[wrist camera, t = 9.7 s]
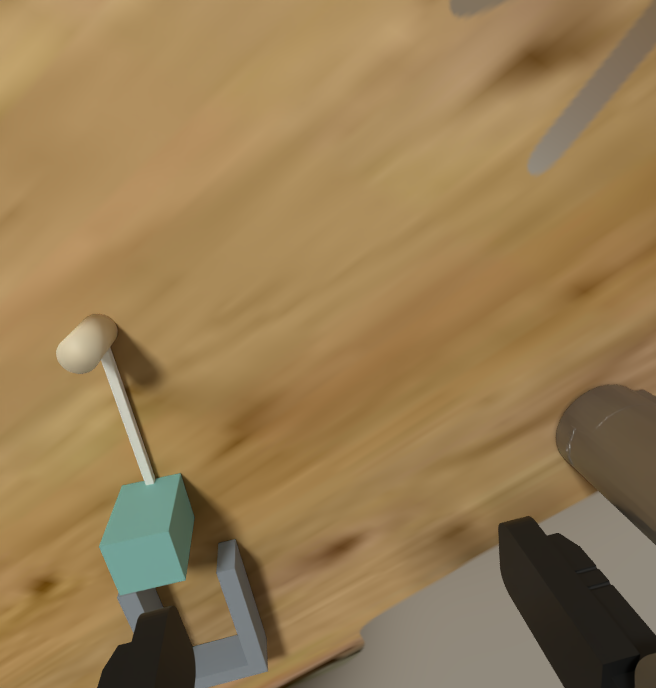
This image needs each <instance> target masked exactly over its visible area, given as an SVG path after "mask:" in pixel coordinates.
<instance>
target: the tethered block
mask: <svg viewBox="0 0 656 688" xmlns="http://www.w3.org/2000/svg"><path fill="white" fill-rule="evenodd" d="M117 334H118V329H117V326H116V324H115V322H114V321H113V320H112V319H111V318H109V317H108V316H105V315H102V314H93V315H90V316H88V317H86V318H85V319H84V320H83V321H82V322H81V323H80V324H79V325H78V326H77V327H76V328H75V329H74V330H73V331H72V332H71V333H70V334H69V335H68V336H67V337H66V338H65V339H64V340H63V341H62V342H61V343H60V344H59V346H58V348H57V351H56V355H57V359H58V362H59V363H60V365H61V366H62V367H63V368H65V369H66V370H68V371H70V372H73V373H77V374H83V373H87V372H90V371H92V370H93V369H94V368H95V367H96V366H97V364H98V363H99V362H100V360H101V361H102V364H103V367H104V370H105V372H106V375H107V378H108V381H109V384H110V386H111V389H112V392H113V395H114V398H115V400H116V403H117V406H118V409H119V412H120V414H121V417H122V420H123V423H124V426H125V428H126V431H127V434H128V437H129V440H130V442H131V445H132V448H133V451H134V454H135V456H136V459H137V462H138V465H139V468H140V470H141V473H142V476H143V479H144V481H142V482H137V483H132V484H128V485H123V486H122V487H121V490H120V493H119V495H118V498H117V501H116V503H115V506H114V509H113V511H112V514H111V516H110V519H109V522H108V524H107V527H106V530H105V532H104V535H103V538H102V540H101V543H100V545H99V548H100V550H101V552H102V555H103V557H104V559H105V562H106V564H107V566H108V569H109V571H110V573H111V576H112V578H113V580H114V583H115V585H116V587H117V590H118V592H119V594H120V595H124V594H129V593H133V592H137V591H142V590H146V589H150V588H155V587H159V586H163V585H167V584H172V583H176V582H180V581H185V580H186V574H187V567H188V560H189V553H190V546H191V539H192V532H193V525H194V518H195V517H194V514H193V511H192V508H191V505H190V502H189V498H188V495H187V492H186V489H185V486H184V483H183V480H182V476H181V473H179V474H175V475H170V476H165V477H161V478H155V475H154V473H153V470H152V467H151V464H150V461H149V458H148V455H147V452H146V449H145V446H144V444H143V441H142V438H141V435H140V432H139V429H138V426H137V423H136V420H135V417H134V415H133V412H132V409H131V406H130V403H129V400H128V397H127V394H126V391H125V388H124V386H123V383H122V380H121V377H120V374H119V371H118V368H117V365H116V362H115V359H114V357H113V354H112V351H111V348H110V346H111V345H112V344H113V342H114V341H115V339H116V338H117Z"/></svg>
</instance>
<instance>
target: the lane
mask: <svg viewBox="0 0 656 688" xmlns="http://www.w3.org/2000/svg"><path fill="white" fill-rule="evenodd" d="M216 573H217V576H218V579H219V582H220V585H221V588H222V590H223V593H224V596H225V599H226V602H227V605H228V608H229V611H230V614H231V616H232V619H233V622H234V625H235V628H236V631H237V634H238V635H235V636H232V637H228V638H224V639H220V640H216V641H212V642H209V643H205V644H201V645H197V646H193V651H194V655H195V663H196V678H195V688H208V687H211V686H215V685H219V684H222V683H226V682H230V681H234V680H237V679H241V678H245V677H248V676H252V675H256V674H259V673H263V672H267V671H268V662H267V638H266V635H265V632H264V629H263V626H262V622H261V619H260V616H259V613H258V610H257V606H256V603H255V600H254V597H253V594H252V590H251V587H250V584H249V581H248V578H247V574H246V571H245V568H244V565H243V562H242V558H241V555H240V552H239V549H238V546H237V543H236V539H234V540H230V541H225V542H221V543H219V545H218V559H217V572H216ZM117 599H118V601H119V603H120V605H121V607H122V609H123V611H124V614H125V616H126V618H127V620H128V622H129V624H130V626H131V628H132V631H133V633H134V630H135V626H136V623H137V619H138V617H139V615H140V614H142V613H145V612H149V611H153V610H157V609H161V608H163V606H162V603H161V601H160V598H159V596H158V594H157V591H156V589H155V588H150V589H146V590H142V591H137V592H133V593H129V594H124V595H120V594H119V593H118V597H117Z"/></svg>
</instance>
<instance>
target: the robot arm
mask: <svg viewBox="0 0 656 688" xmlns="http://www.w3.org/2000/svg"><path fill="white" fill-rule="evenodd" d="M556 443H557V447H558V450H559V452H560V454H561V455H562V456H563V458H564V459H565V460H567V461H568V462H569V463H570V464H571V465H572V466H573V467H574V468H575V469H576V470H577V471H578V472H579V473H580V474H581V475H582V476H583V477H584V478H586V479H587V480H588V481H589V482H590V483H591V484H592V485H593V486H594V487H595V488H596V489H597V490H598V491H599V492H600V493H601V494H602V495H603V496H604V497H605V498H606V499H608V500H609V501H610V502H611V503H612V504H613V505H614V506H615V507H616V508H617V509H618V510H619V511H620V512H621V513H622V514H623V515H625V516H626V517H627V518H628V519H629V520H630V521H631V522H632V523H633V524H634V525H635V526H636V527H637V528H638V529H639V530H641V532H642V533H644V534H645V535H646V536H647V537H648V538H649V539H650V540H651V541H652V542H653V543H654V544H655V545H656V396H654V395H652V394H651V393H649V392H647V391H645V390H639V391H633V390H631V389H629V388H627V387H625V386H621V385H604V386H600V387H597V388H594V389H592V390H589V391H588V392H586V393H584V394H583V395H581V396H580V397H579V398H577V399H576V400H575V401H574V402H573V403H572V404H571V405H570V406H569V407H568V409H567V410H566V411H565V413H564V414H563V416H562V418H561V420H560V422H559V425H558V428H557V433H556ZM498 533H499V555H500V570H501V575H502V578H503V581H504V584H505V587H506V589H507V591H508V593H509V595H510V597H511V598H512V600H513V602H514V603H515V605H516V607H517V609H518V610H519V612H520V614H521V615H522V617H523V619H524V620H525V622H526V624H527V625H528V627H529V629H530V630H531V632H532V634H533V635H534V637H535V639H536V641H537V642H538V644H539V646H540V647H541V649H542V650H543V652H544V654H545V656H546V657H547V659H548V661H549V662H550V664H551V666H552V667H553V669H554V671H555V672H556V674H557V676H558V677H559V679H560V681H561V683H562V684H563V686H564V687H565V688H656V635H655V634H654V633H653V632H652V630H650V628H649V627H648V626H647V625H646V623H645V622H644V621H643V620H642V619H641V618H640V616H639V615H638V614H637V613H636V612H635V610H634V609H633V608H632V607H631V606H630V605H629V604H628V602H627V601H626V600H625V599H624V598H623V597H622V595H621V594H620V593H619V592H618V591H617V589H616V588H615V587H614V586H613V585H611V584H610V582H609V580H608V579H607V578H606V577H605V575H604V574H603V573H602V572H601V571H600V570H599V569H597V568H596V565H595V564H594V562H593V561H592V560H591V559H590V558H589V557H588V555H587V554H586V553H585V552H584V551H583V550H582V548H581V547H580V546H578V545H577V544H575V543H573V542H572V541H570V540H569V539H567V538H565V537H564V536H563V535H561V534H559V533H556V534H552V535H548V536H547V535H546V534H545V533H544V532H543V530H542V529H541V528H540V527H539V525H538V524H537V523H536V521H535V520H534V519H533V518H531V517H530V516H526V517H523V518H519V519H515V520H511V521H507V522H503V523H500V524H499V527H498ZM195 678H196V663H195V655H194V651H193V647H192V645H191V642H190V640H189V637H188V635H187V632H186V630H185V628H184V625H183V623H182V620H181V618H180V616H179V613H178V611H177V609H176V607H175V606H169V607H165V608H161V609H157V610H153V611H149V612H145V613H142V614H140V615H139V617H138V619H137V623H136V626H135V630H134V634H133V638H132V642H130V643H126V644H122V645H118V647H117V648H116V650H115V651H114V653H113V655H112V656H111V658H110V659H109V661H108V662H107V664H106V666H105V667H104V669H103V670H102V674H101V677H100V680H99V684H98V687H97V688H195Z"/></svg>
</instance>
